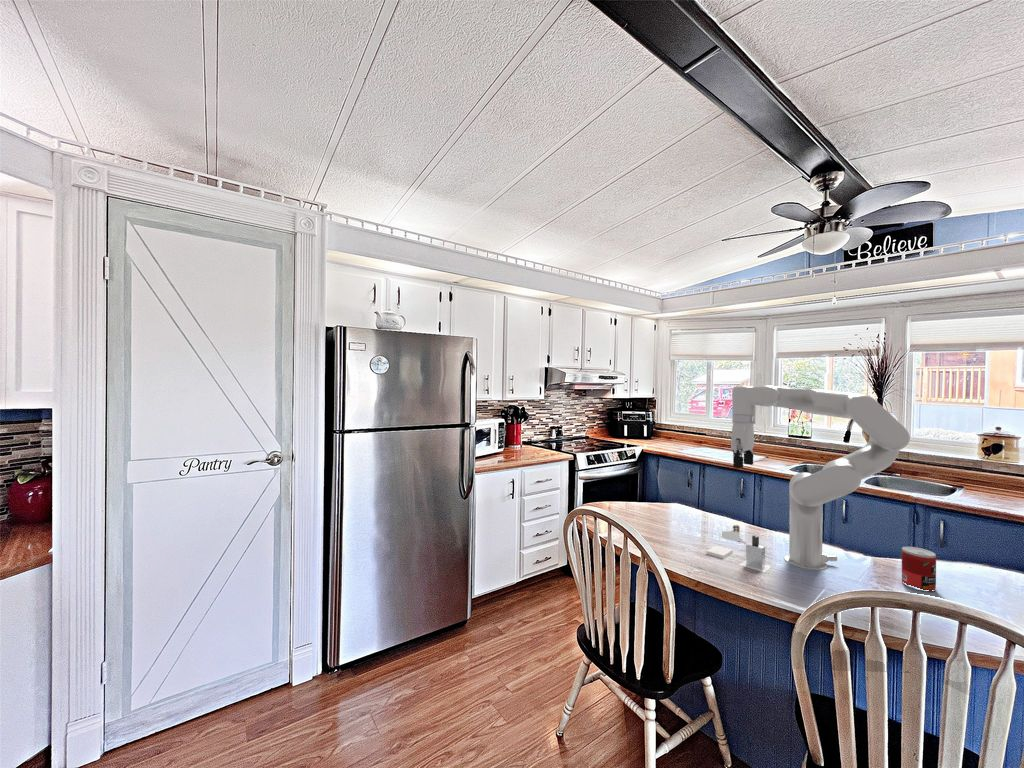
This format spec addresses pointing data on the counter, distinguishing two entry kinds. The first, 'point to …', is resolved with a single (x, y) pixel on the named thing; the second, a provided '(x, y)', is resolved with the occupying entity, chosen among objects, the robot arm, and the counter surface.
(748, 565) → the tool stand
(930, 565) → the canned food
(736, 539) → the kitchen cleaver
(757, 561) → the steel turner
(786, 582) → the counter surface
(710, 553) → the tile
